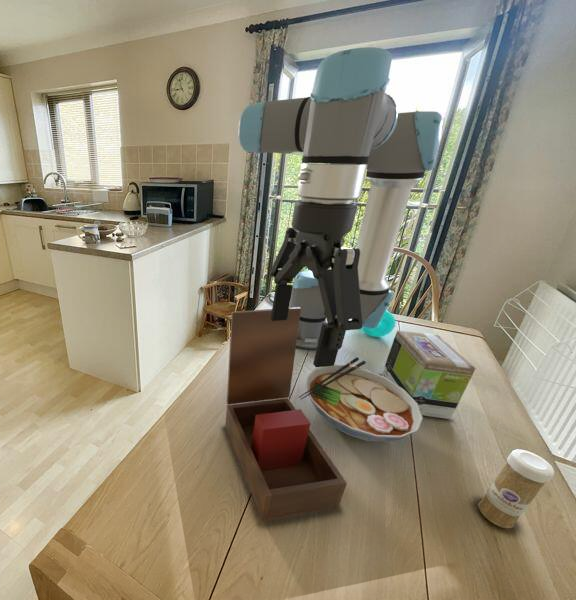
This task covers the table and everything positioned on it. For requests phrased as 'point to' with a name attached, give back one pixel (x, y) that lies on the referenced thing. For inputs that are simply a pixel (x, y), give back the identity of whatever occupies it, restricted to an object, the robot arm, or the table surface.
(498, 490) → the sprinkles bottle
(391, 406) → the ramen bowl
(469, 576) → the table surface
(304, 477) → the chest
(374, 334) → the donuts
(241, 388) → the lid
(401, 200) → the robot arm
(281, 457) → the book
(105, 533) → the table surface
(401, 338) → the tea box
